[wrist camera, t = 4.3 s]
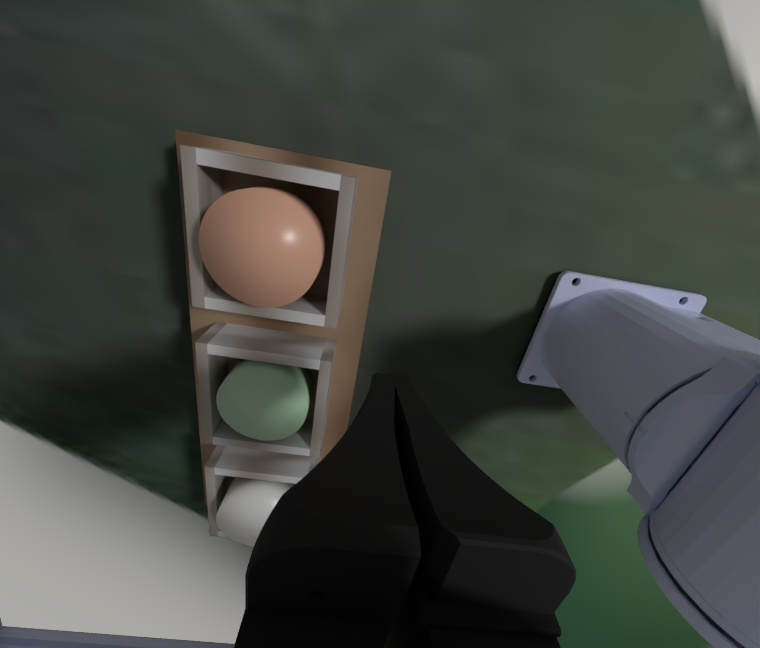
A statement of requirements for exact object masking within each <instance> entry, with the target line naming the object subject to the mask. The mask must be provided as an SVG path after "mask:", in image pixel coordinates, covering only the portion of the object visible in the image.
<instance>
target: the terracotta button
mask: <svg viewBox="0 0 760 648" xmlns="http://www.w3.org/2000/svg"><path fill="white" fill-rule="evenodd" d="M199 247H200V253H201V256H202V260H203V262H204V265H205V267H206V269H207V270H208V272H209V274H210V275H211V277H212V278H213V280H214V281H215V282H216V283H217V284H218V285H219V286H220V287H221V288H222V289H223V290H224V291H225V292H227V293H228V294H229V295H231V296H232V297H234V298H236V299H237V300H239V301H241V302H244V303H246V304H249V305H253V306H257V307H265V308H270V307H280V306H284V305H287V304H289V303H292V302H294V301H296V300H297V299H299V298H300V297H301V296H303V295H304V294H305V293H306V292H307V291H308V289H309V288H310V287H311V285H312V284H313V282H314V280H315V279H316V277H317V275H318V273H319V272H320V270H321V268H322V266H323V263H324V260H325V255H326V237H325V233H324V229H323V226H322V224H321V222H320V220H319V218H318V216H317V215H316V213H315V212H314V210H313V209H312V208H311V207H310V206H309V205H308V204H307V203H306V202H305V201H304V200H303V199H301V198H300V197H299V196H297V195H296V194H294V193H292V192H290V191H288V190H285V189H282V188H278V187H273V186H259V187H252V188H246V189H240V190H235V191H232V192H229V193H227V194H225V195H223V196H221V197H220V198H219V199H217V200H216V201H215V202H214V203H213V204H212V205H211V206H210V207H209V209H208V210H207V211H206V213H205V215H204V217H203V219H202V222H201V226H200V231H199Z"/></svg>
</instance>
